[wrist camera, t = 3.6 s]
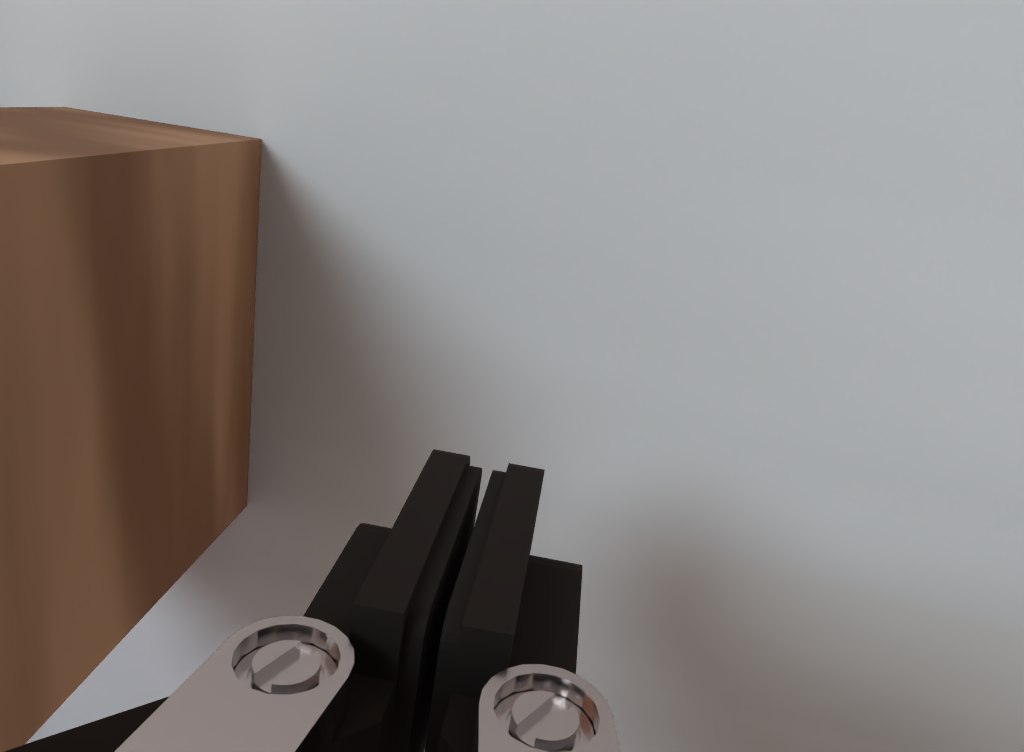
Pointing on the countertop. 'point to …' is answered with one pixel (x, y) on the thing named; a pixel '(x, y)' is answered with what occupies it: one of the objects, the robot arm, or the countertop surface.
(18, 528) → the slab
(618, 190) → the countertop surface
